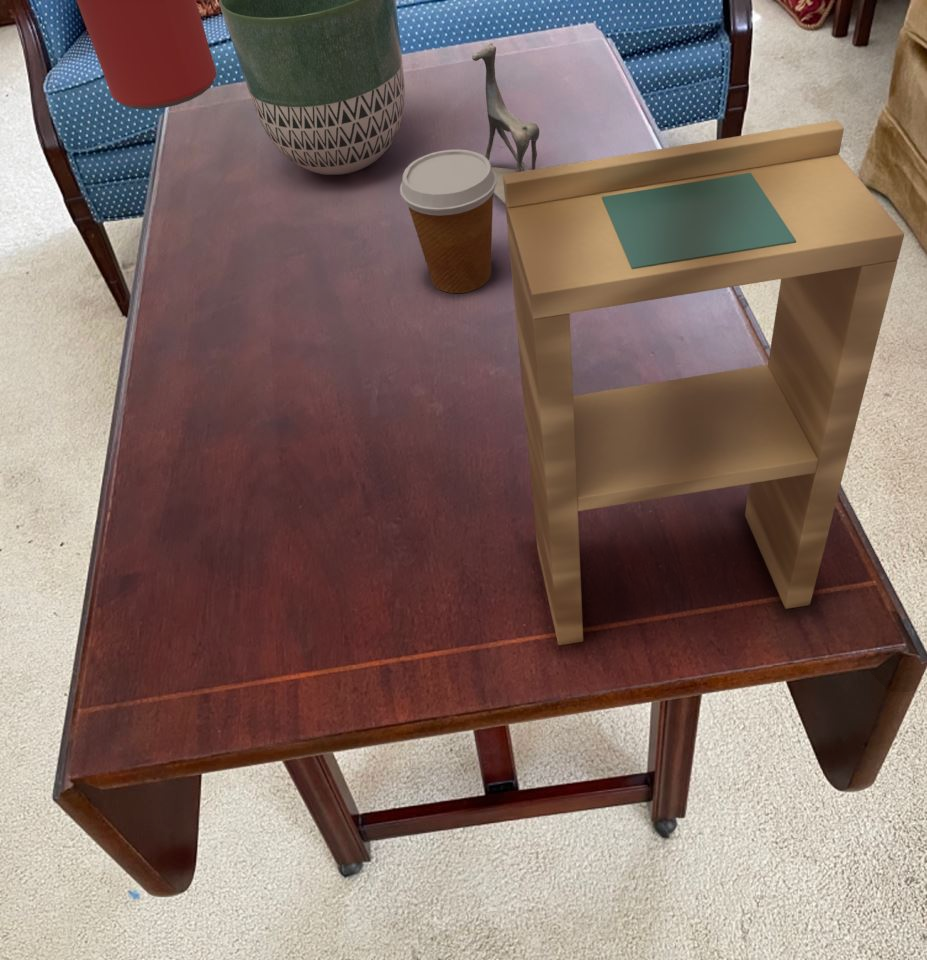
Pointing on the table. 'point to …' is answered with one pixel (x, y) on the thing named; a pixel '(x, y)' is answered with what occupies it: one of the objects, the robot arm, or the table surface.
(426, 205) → the disposable coffee cup
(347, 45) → the planter
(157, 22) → the beer can
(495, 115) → the figurine
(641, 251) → the shelf
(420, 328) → the table surface
